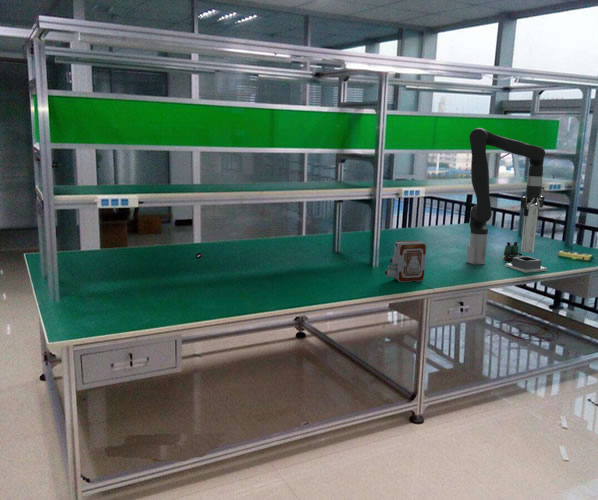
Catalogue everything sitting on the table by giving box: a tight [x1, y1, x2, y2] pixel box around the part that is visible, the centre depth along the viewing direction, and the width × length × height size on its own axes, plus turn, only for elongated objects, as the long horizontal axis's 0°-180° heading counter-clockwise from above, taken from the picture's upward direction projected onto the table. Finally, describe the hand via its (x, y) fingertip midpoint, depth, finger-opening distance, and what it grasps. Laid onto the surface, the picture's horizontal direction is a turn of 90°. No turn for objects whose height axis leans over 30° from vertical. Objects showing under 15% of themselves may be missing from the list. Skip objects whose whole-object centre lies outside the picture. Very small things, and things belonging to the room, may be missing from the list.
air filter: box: [520, 204, 539, 254], centre depth 300 cm, size 6×6×25 cm
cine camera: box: [384, 240, 427, 283], centre depth 274 cm, size 9×19×20 cm, turn 103°
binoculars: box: [503, 241, 523, 262], centre depth 323 cm, size 9×11×10 cm
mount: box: [504, 255, 548, 274], centre depth 304 cm, size 15×15×6 cm
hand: (530, 215), depth 299 cm, fingers closed on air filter, 6 cm apart
